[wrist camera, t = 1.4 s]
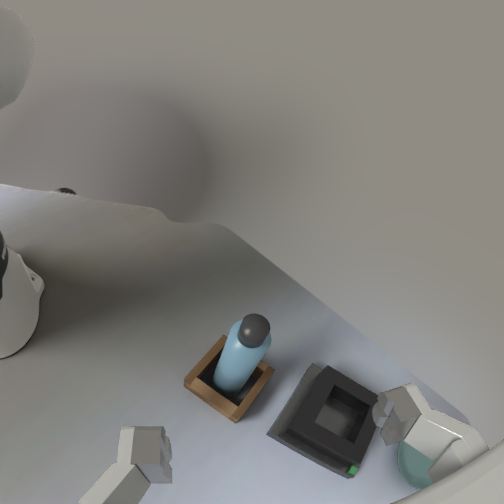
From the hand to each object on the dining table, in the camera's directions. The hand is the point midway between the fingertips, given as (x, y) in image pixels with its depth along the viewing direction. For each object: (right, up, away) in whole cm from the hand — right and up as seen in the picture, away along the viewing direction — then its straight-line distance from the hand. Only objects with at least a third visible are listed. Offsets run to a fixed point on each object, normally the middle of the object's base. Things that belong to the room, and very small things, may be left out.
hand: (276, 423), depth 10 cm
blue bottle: (-4, -11, +28) cm, 30 cm away
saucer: (+24, -25, +24) cm, 42 cm away
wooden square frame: (-4, -11, +28) cm, 30 cm away
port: (+9, -17, +26) cm, 32 cm away
